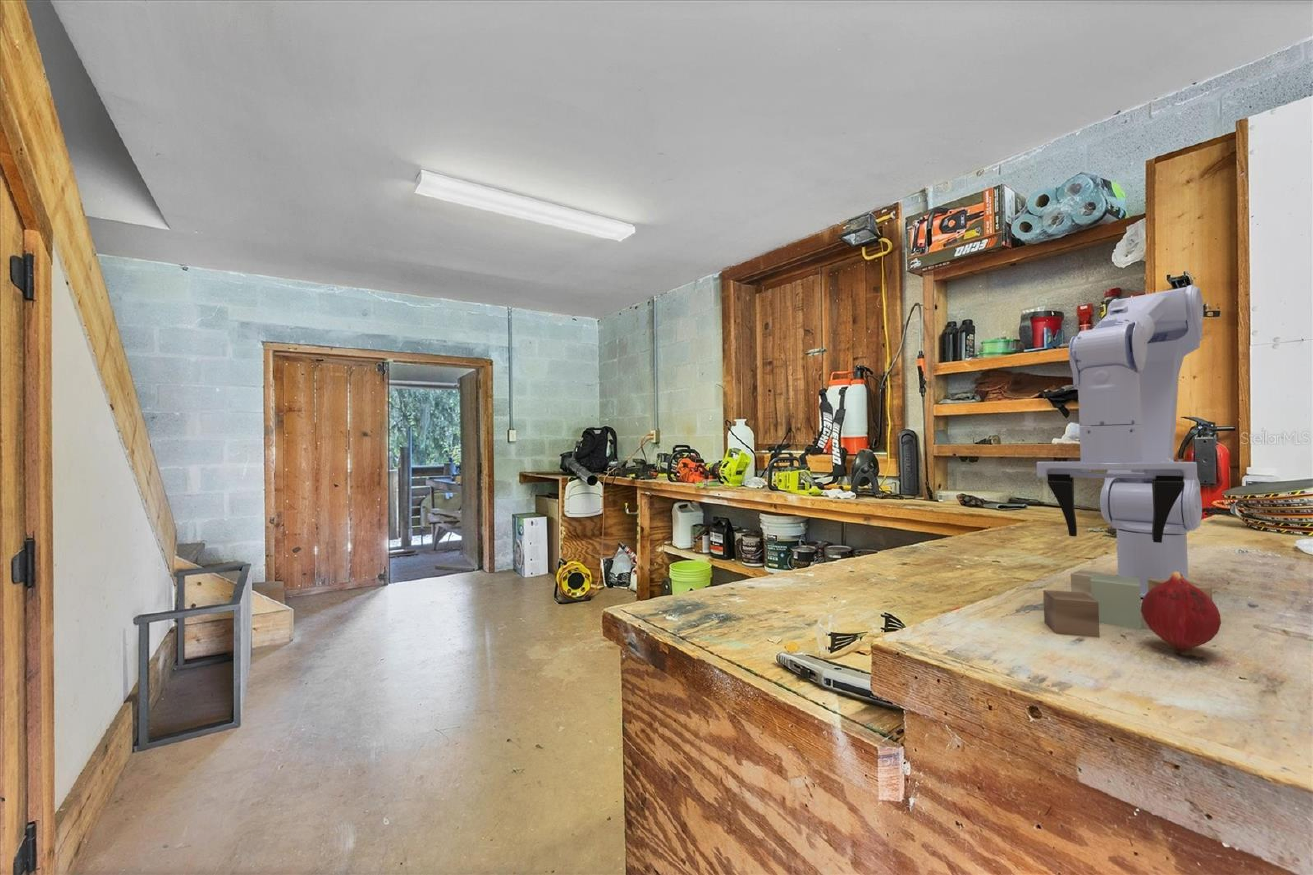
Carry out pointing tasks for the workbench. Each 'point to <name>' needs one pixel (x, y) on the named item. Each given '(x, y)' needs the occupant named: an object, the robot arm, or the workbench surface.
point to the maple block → (1084, 580)
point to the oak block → (1205, 589)
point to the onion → (1180, 613)
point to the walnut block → (1071, 613)
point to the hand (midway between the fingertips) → (1113, 538)
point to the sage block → (1117, 600)
